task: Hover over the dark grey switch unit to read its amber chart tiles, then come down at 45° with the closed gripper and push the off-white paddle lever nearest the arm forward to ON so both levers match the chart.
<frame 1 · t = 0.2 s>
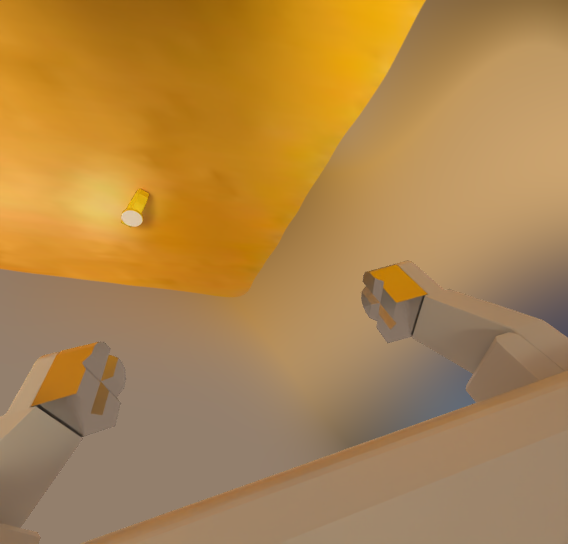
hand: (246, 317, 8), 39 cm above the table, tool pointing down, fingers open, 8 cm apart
watch: (137, 199, 43), on the table
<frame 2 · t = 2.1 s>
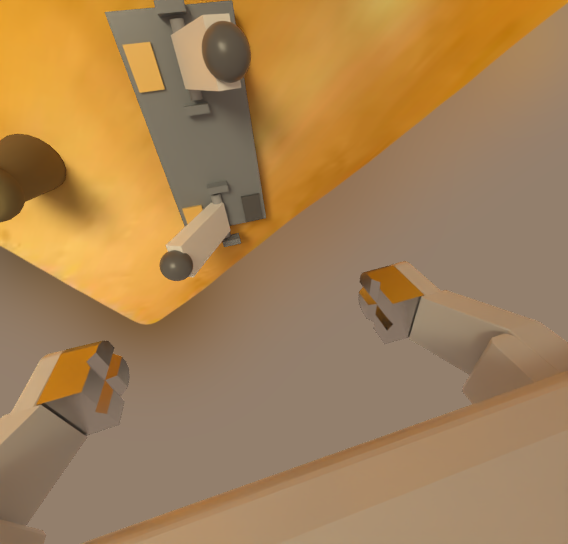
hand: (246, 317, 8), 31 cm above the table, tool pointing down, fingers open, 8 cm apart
switch unit: (204, 135, 33), on the table
brown pawn: (33, 163, 30), on the table
lever A: (205, 58, 21), point 10 cm above the table, hinge at -15.0°
lever B: (199, 240, 31), point 9 cm above the table, hinge at 30.0°
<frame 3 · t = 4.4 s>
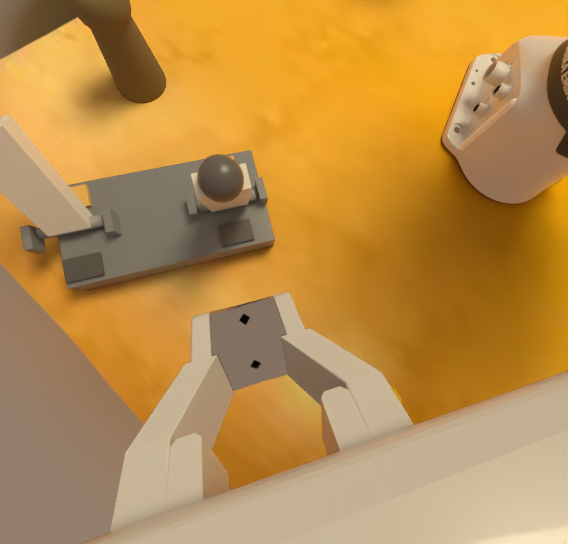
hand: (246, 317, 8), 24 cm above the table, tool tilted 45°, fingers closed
switch unit: (173, 223, 32), on the table
brown pawn: (142, 82, 34), on the table
lever A: (225, 190, 23), point 10 cm above the table, hinge at -15.0°
lever B: (25, 176, 23), point 9 cm above the table, hinge at 30.0°
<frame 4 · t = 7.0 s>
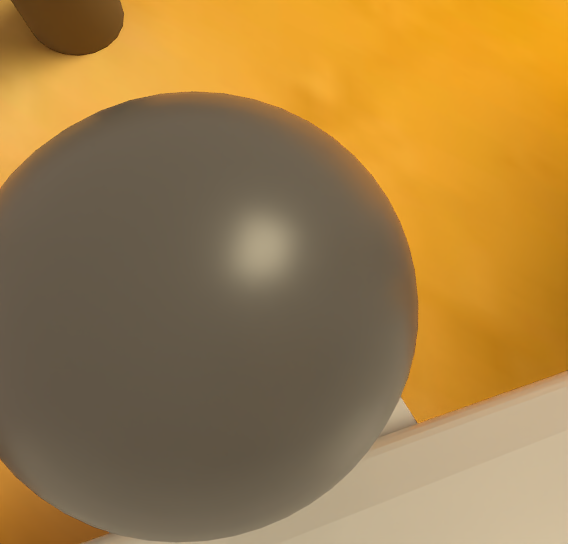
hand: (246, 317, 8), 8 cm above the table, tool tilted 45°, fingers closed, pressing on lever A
brown pawn: (78, 17, 18), on the table
lever A: (238, 268, 7), point 10 cm above the table, hinge at -10.8°, touching gripper
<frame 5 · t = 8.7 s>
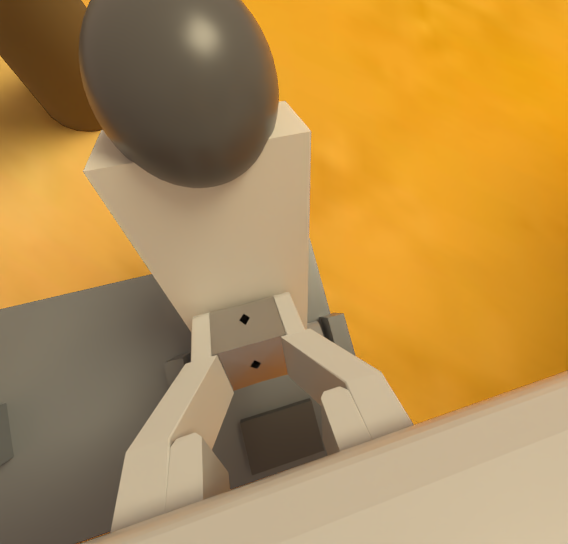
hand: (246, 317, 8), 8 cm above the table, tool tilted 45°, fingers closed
switch unit: (146, 380, 16), on the table
brown pawn: (91, 92, 18), on the table
lever A: (239, 270, 8), point 9 cm above the table, hinge at 34.0°
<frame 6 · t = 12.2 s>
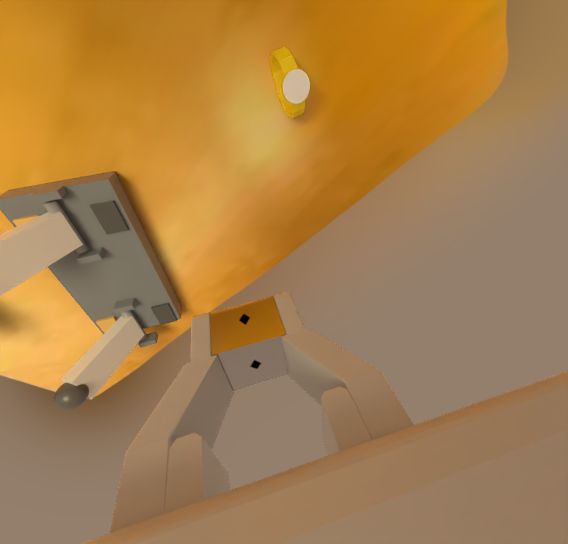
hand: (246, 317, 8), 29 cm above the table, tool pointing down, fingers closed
watch: (280, 83, 30), on the table
switch unit: (113, 260, 36), on the table
lever A: (10, 258, 25), point 9 cm above the table, hinge at 34.0°
lever B: (103, 358, 35), point 9 cm above the table, hinge at 30.0°
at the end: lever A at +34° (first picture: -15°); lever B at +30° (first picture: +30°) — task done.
